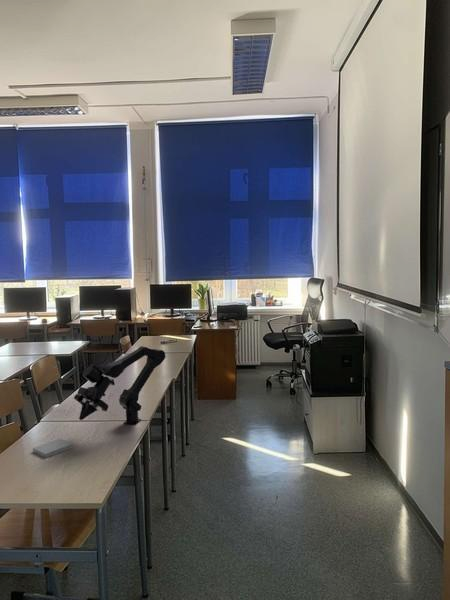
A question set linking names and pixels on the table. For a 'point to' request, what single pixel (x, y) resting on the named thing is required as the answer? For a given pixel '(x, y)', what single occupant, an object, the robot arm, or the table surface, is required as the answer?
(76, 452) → the table surface
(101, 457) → the table surface
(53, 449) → the grey tile
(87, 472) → the table surface
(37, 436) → the table surface
